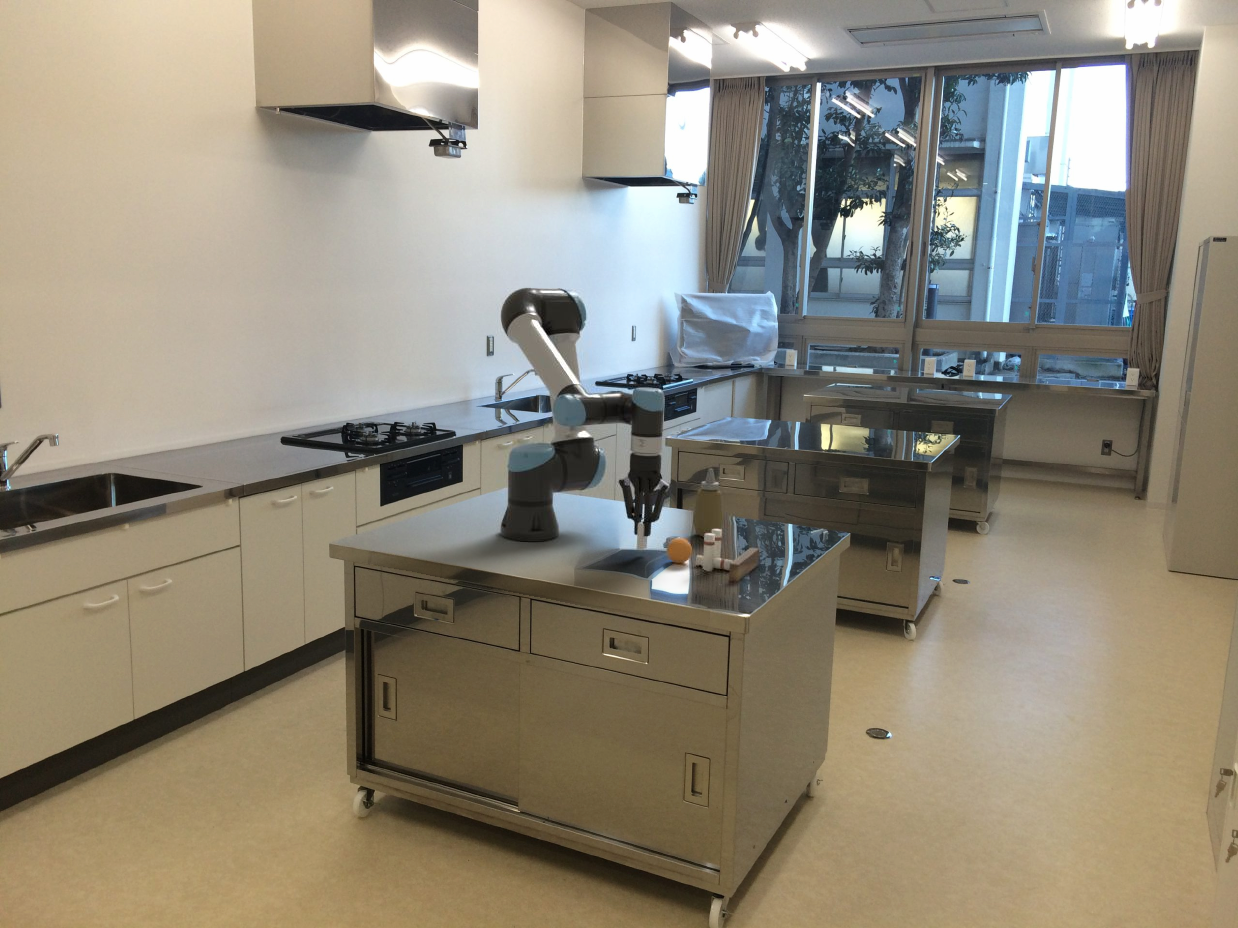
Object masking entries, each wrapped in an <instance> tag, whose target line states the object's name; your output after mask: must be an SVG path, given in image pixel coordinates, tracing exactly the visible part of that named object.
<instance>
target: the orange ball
mask: <svg viewBox="0 0 1238 928" xmlns="http://www.w3.org/2000/svg"><path fill="white" fill-rule="evenodd" d="M692 552H693V548H692V545H691V543H690V542H689V541H688V540H687V539H685V538H684V537H683V538H681V537H676V538H673V539H672V540H671V541H670V542H668V545H667V547H666V555H667V557H668V558H669V560H670V561H672V562H673V563H676V564H683V563H686V562H687V561H689V559H690V558H691V556H692V554H693V553H692Z"/></svg>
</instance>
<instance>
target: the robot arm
mask: <svg viewBox="0 0 1238 928" xmlns="http://www.w3.org/2000/svg"><path fill="white" fill-rule="evenodd" d="M501 306H502V307H501V310H500V322H501V327H502V329H503V331H504V333H505V334H506V337H508V339H509V340H510V342H512V343H514V344H516V345H517V346H518V347H519V349H520V350H521V351H522V353H523V355H524V357H525V358H526V359H527V361H528V362H529V363H530V365H531V366H532V368H533V370H534V371H535V373H536V374H537V376H538V377H539V379H540V380H541V382H542V383H543V385H544V386H545V388H546V389H547V390H548V392H549V393H548V394H549V399H550V408H551V414H552V415H551V417H552V424H553V430H554V436H553V438H552V439H551V441H550V442H549V443H547V442H536V443H535V442H532V443H525V444H521V445H518V446H516V447H514V448H512V449H511V450H510V452H509V454H508V463H507V470H508V472H507V475H508V476H507V506H506V509H505V512H504V515H503V518H502V521H501V524H500V532H499V533H500V536H502V538H505V539H507V540H513V541H519V542H542V541H549V540H554V539H556V538H557V537H559V535H560V527H559V523H558V519H557V516H556V512H555V509H554V493H564V492H565V493H566V492H572V491H573V492H574V491H584V490H588V489H592V488H595V487H598V485H599V484H600V483H601V481H602V480H603V478H604V477H605V473H606V469H607V468H606V467H607V459H606V454H605V451H603V449H602V447H601V446H600V445H597V444H595V438H594V436H593V435H592V434H590V433H589V432H588V429H587V426H593V425H594V426H595V425H610V424H611V425H613V424H623V425H628V426H630V427H631V428H630V429H631V430H630V431H631V432H630V449H629V450H630V451H631V453H630V454H629V455H630V456H629V472H628V473H627V476H625V477H623V478H621V479H619V480H618V484H619V485H620V488H621V490H622V496H623V500H624V507H625V511H626V517H627V519H629V520H632V521H633V523H634V526H633V527H634V528H633V533H634V535H635V536H636V550H638V551H643V550H645V549H647V548H648V547H647V546H648V537H650V536H651V532H652V523H655V522H657V521H659V519H660V517H661V513H662V510H663V506H664V502H665V500H666V496H667V493H668V491H669V490H670V489H671V487H672V485H671V483H669V482H666V481H664V480H663V475H662V473H661V470H662V469H661V468H662V455H661V453H662V452H663V432H664V430H663V429H664V414H665V413H664V412H665V395H664V391H663V390H662V389H660V388H657V387H656V388H655V387H636V388H634V389H633V390H632V393H630V392H624V391H622V390H607V391H606V392H602V393H601V392H598V393H590V392H589V393H588V391H586V389H585V388H584V386H583V385H582V384H581V377H580V369H579V362H578V353H577V346H576V345H577V344H576V343H577V342H578V341H579V340H580V338H581V333H580V332H582V331H583V330H584V328H585V327H586V321H587V310H586V306H585V303H584V300H583V299H582V298H581V296H580V295H579V294H577V292H576V291H573V290H570V289H563V288H531V287H524V288H519V289H517V290H514V291H513V292H511V293H510V294H509V295H508V296H507V297H506V298H505V300H504V302H503V304H502V305H501ZM631 486H632V487H633V489H634V492H632V487H631ZM657 487H658V489H659V491H658V492H657V496H656V499H655V503H654V495H655V489H656V488H657ZM633 494H634V497H633ZM653 505H654V507H653Z"/></svg>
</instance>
